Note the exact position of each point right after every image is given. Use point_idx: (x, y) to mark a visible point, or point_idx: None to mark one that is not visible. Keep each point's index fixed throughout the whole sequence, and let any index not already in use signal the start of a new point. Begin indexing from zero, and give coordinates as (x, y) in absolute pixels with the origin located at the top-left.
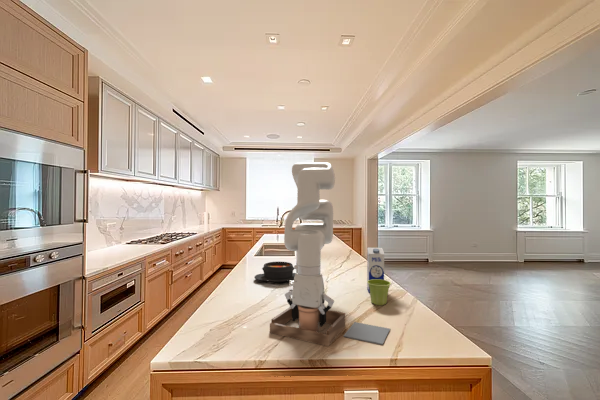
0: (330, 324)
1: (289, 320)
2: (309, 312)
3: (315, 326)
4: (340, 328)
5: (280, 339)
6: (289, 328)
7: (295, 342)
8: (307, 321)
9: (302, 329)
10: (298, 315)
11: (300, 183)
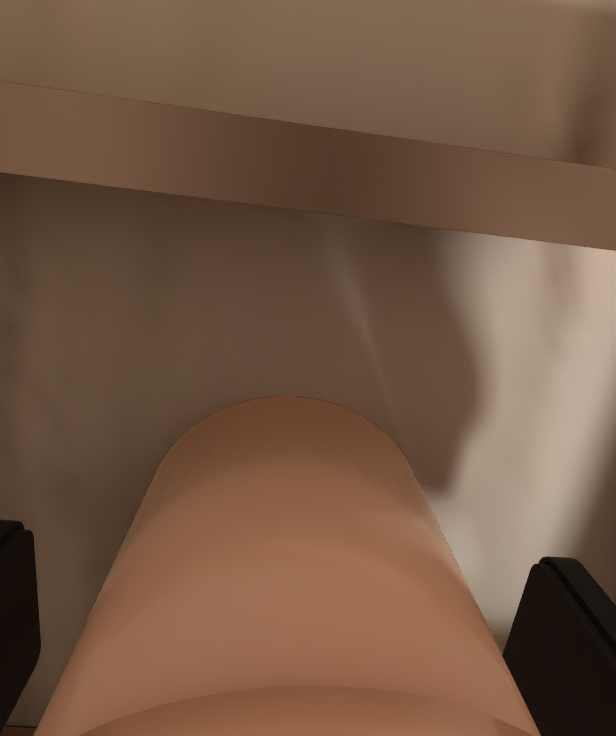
0: None
1: None
2: (118, 729)
3: (131, 526)
4: None
5: (611, 37)
6: (562, 163)
7: (328, 13)
8: (240, 510)
9: (244, 169)
10: None
11: None
